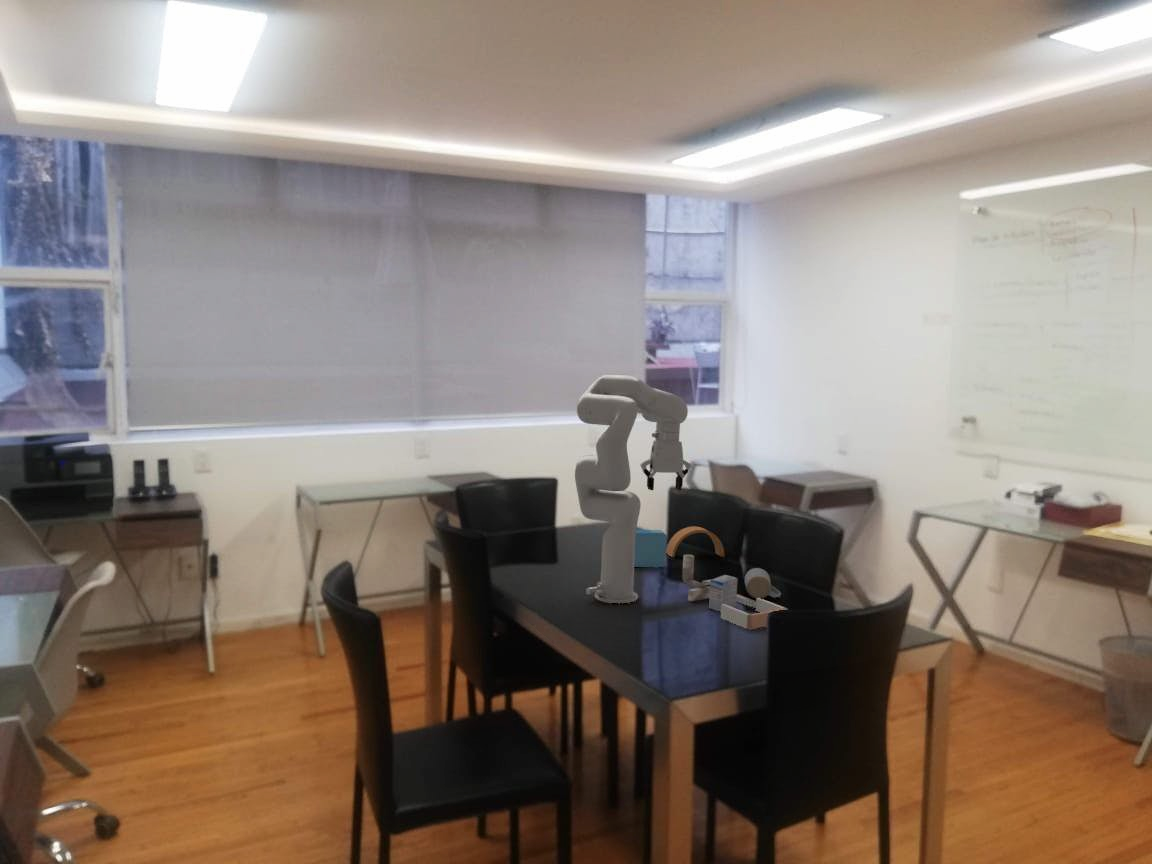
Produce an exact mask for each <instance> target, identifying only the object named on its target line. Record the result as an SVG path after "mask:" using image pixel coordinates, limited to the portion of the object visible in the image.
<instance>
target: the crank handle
mask: <svg viewBox="0 0 1152 864" xmlns="http://www.w3.org/2000/svg"><path fill="white" fill-rule="evenodd" d="M682 558H683V559H682V576H681V578H682V581H683V582H684V583H685V584H688V585H691V586H693V587H696V588H692V589H691V588H690V589H688V591H687V594H688V596H687V601H690V602H693V601H698V600H700V601H701V600H704V599H710V586H708V585H710V583H711V580H712V579H705V580H702V581H701V582H700V581H697V580H695V579H694V572H695V570H694V568H695V555H693V554H683V557H682Z"/></svg>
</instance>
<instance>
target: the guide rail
mask: <svg viewBox="0 0 1152 864" xmlns="http://www.w3.org/2000/svg"><path fill="white" fill-rule="evenodd" d="M738 602H739V604H741V603H742V604H741V605H743V604H744V606H746V605H747V606H746V607H749V606H750V607H749V608H751V607H753V608H752V609H754V608H756V600H753V599H751V598H748V597H745V596H743V595H741V594H738V593H737V595H736V603H738Z"/></svg>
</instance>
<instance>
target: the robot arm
mask: <svg viewBox="0 0 1152 864" xmlns="http://www.w3.org/2000/svg"><path fill="white" fill-rule="evenodd" d="M576 406H577V407H576V414H577V416H578V419H579V420H580V421H581V422H582V423H584V424H587V425H598V426H599V425H600V426H608V427H607V429H605V431H604V432H603V433H602V434H601V435H600V437H599V438H598V439H597V442H596V445H595V447H596V448H595V450H596V451H595V452H596V455H594V454H589V455H588V454H587V455H584V456H581V457H580V458H579V460H578V461H577V463H576V464H575V465H576V466H575V470H574V482H575V487H576V493H577V498H578V503H579V508H580V511H581V514H582V516H583V517H585V519H588V520H593V521H600V522H605V523H610V526H609V527H608V529H607V530H606V531H605V532H604V534H603V536H602V541H601V566H600V568H601V569H600V581H597V582H596V583H597V584H596V585H595V586H592V587H591V586H589V587H586V589H585V593H586V595H594V598H595V599H596V600H597V601H600V602H602V603H606V604H612V603H618V604H617V605H624V604H623V603H628V604H631V603H630V602H633V603H635V602H637V601H638V600H639V594H638V593H637V592H635V591H634V579H635V578H634V576H635V568H634V561H635V539H636V530H637V528H638V527H637V526H638V521H639V516H640V511H641V500H640V497H639V496H638V495H637V494H636V493H634V492H632V491H628V490H627V489H628V488H629V487H630V484H631V469H630V462H629V455H628V440H629V437H630V435H631V432H632V429H633V428H634V427H633V426H634V424H635V422H636V420H637V415H638V414H641V416H642V418H643V419H644V420H646V421H647V422H651V423H656V427H655V432H652V433H651V437H652V438H654V439H655V440H653V442H652V447H651V449H650V456H649V458H648V459H646V460H644V461H642V462H641V463H640V464H639V466H640V468H641V470H642V472H643V474H644V475H645V476H646V478H647V479H646V480H647V481H646V487H647V489H648V490H650V491H654V489H655V478H654V476H655V475H656V474H657V473H660V474H661V473H664V474H665V473H671V474H672V473H675V474H676V475H677V476H676V477H675V486H674V487H675V489H676V490H678V491H682V487H683V483H684V481H683V479H684V478H685V476H686V475H687V474H688V473H689V470H690V469H691V467H692V464H691V463H689V461H686V460H685V459H684V452H683V451H684V450H683V442H682V441H680V428H681V424H682V423H685V421H686V420H687V417H688V412H689V410H688V405H687V403H686V401H685V400H684V399H683V398H681V396H679V395H676V394H673V393H670V392H667V391H664V390H661V389H659V388H655V387H651V386H650V385H648V384H647V383H645V382H644V381H643V380H642V379H640V378H638V377H636V376H635V375H633V376H632V375H622V374H620V375H619V374H603V375H601V376H600V377H598V378H597V379H595V380H594V381H593V382H592V383H591V385H590V386H589V387H588V388H587V389H586V391H584V393H582V395H581V396H580V398H579V400H578V402H577V405H576ZM648 465H649V470H648V468H647V467H648ZM637 599H638V600H637ZM636 600H637V601H636ZM634 601H635V602H634ZM620 603H622V604H620Z"/></svg>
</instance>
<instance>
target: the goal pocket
mask: <svg viewBox="0 0 1152 864" xmlns="http://www.w3.org/2000/svg"><path fill="white" fill-rule="evenodd" d="M755 601H756V609H755V611H758V612H760V613H756V612H755V613H748V612H745V611H743V610H740V609H737V608H736V607H731V606H728V605H726V604H722V605H721V612H720V619H721V618H722V619H721V620H723V619H724V620H723V621H725V620H727V621H729V622H728V623H730V622H731V623H730V624H732V623H733V624H732V625H734V624H736V625H735V626H737V625H738V626H737V627H739V626H741V627H744V628H747V629H753V628H757V627H762V626H764V625H765V626H766V621H767V616H768V614H769V613H771V612H773V611H779V610H788V611H789V608H787V607H785V606H781V605H779V604H777V603H774V602H771V601H768V600H765V599H764V598H762V599H761V598H755ZM727 621H726V622H727ZM741 627H740V628H741ZM744 628H743V629H744Z"/></svg>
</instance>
